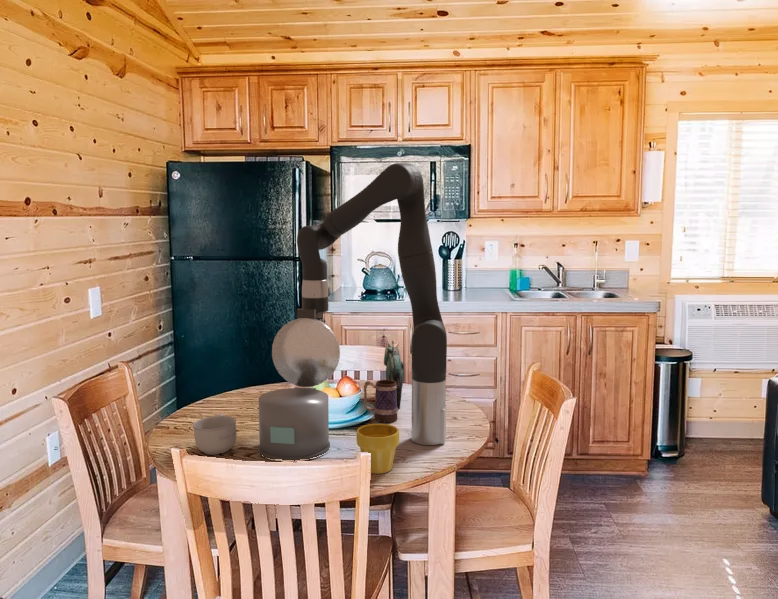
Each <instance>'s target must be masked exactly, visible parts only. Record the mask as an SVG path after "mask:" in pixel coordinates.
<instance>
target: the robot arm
mask: <svg viewBox="0 0 778 599" xmlns="http://www.w3.org/2000/svg"><path fill="white" fill-rule="evenodd" d="M424 184H425V183H424V178H423V175H422V172H421V170H420V169H419V168H418V167H417V166H416V165H414V164H413V163H406V162H405V163H403V162H400V163H399V162H397V163H393V164H390V165H388V166H387V167H386V168H385V169H384V170H383V171H382V172H380V174H379V175H377V176H376V177H375V178H374V179H373V180H372V181H371V182H370V183H368V185H367V186H365V187H364V188H363V189H362V190H360V192H358V193H357V194H355V195H354V196H352V197H351V198H350V199H348V200H346V201H345V202H343V203H341V205H339V206H338V207H336V208H335V209H333V210H332V211H330V212H329V213H327V214H326V216H324V219H323V222H322V223H320V224H317V225H316V224H315V225H304V226H303V227H301V228H300V229H299V231H298V232H297V237H296V244H297V249H298V254H299V256H300V261H301V264H302V285H301V309H316V318H313V319H316V320H319V321H321V322H323V323H324V324H326V319H325V318H324V316H323V313H326V312H328V311H329V283H328V264H327V261H326V260H325V259H323V258H321V255H320V251H322V250H325V249H327V248H329V247H330V246H332V245H333V244H334V243H335V242H336V241H337V240H338V239H340V237H341V236H343V235H344V234H346V233H347V232H349V231H351V230H352V229H353V228H355V227H357V226H358V225H359V224H361V223H362V222H363V221H365V219H366V218H367V217H368V216H369V215H370V214H371V213H372V212H374V211H375V210H376V209H378V208H380V207H382V206H384V205H386V204H389V203H391V202H393V201H395V200H396V201H397V204H398V210H399V215H400V224H399V233H398V242H397V255H398V261H399V267H400V272H401V276H402V280H403V284H404V287H405V290H406V293H407V295H408V298H409V301H410V306H411V313H412V326H413V327H412V328H413V331H412V336H411V434H410V435H411V441H412V442H413V443H415V444H418V445H421V446H437V445H444V444H445V442H446V437H447V404H446V402H447V396H446V395H447V394H446V391H447V357H448V356H447V355H448V354H447V350H448V348H447V346H448V338H447V330H446V327H445V324H444V321H443V318H442V314H441V311H440V307H439V302H438V295H437V294H438V293H437V291H438V290H437V274H436V273H437V272H436V264H435V258H434V252H433V247H432V242H431V237H430V236H431V235H430V231H429V225H428V219H427V214H426V202H425V189H424V188H425V187H424Z"/></svg>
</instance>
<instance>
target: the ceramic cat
mask: <svg viewBox="0 0 778 599" xmlns="http://www.w3.org/2000/svg"><path fill="white" fill-rule="evenodd" d="M394 344H395V343H394V340H391V344H390V343H389V342H387V346H386V347H385V348H384V358H383V365H384V366H385V367H386V368H385V380H393V381H395V382H396V385H397V388H396V392H397V407H398V410H400V409H401V403H402V402H401V400H402V394H403V393H402V392H403V384H404V381H405V379H404V378H405V367H404V363H403V361H402V360H401V359H402V358H401V355H400V351H399V347H398V346H394Z"/></svg>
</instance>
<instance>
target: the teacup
mask: <svg viewBox="0 0 778 599" xmlns="http://www.w3.org/2000/svg"><path fill="white" fill-rule="evenodd" d="M192 428H193V432H194V433H193V434H194V435H193V436H194V442H195V445H196V448H197V449H198V450H199V451H200V452H202V453H204V454H206V455H220V453H221V454H224V453H227V452H228V451H230V450H231V448H232V447H233V446H235V444H236V442H237V419H236V417H234V416H231V415H225V414H224V413H219V414H218V415H212V416H208V417H207V416H206V417H203V418H200V419H198V420H196V421H194V422H193V423H192Z"/></svg>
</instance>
